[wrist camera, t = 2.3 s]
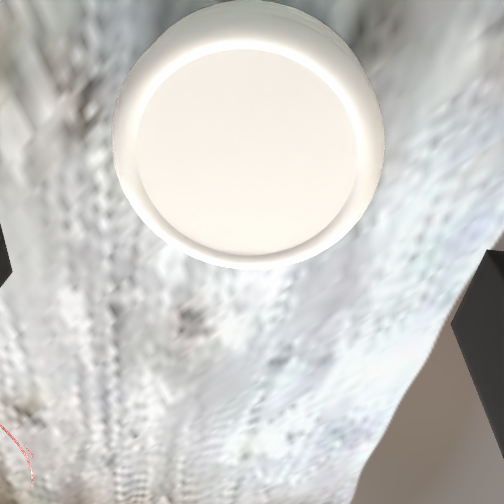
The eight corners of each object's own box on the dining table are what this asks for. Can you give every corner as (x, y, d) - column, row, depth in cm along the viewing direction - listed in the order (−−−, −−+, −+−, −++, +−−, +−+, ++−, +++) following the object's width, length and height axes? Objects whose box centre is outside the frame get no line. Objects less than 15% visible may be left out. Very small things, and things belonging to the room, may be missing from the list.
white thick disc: (400, 8, 17) (423, 29, 14) (348, 238, 23) (357, 285, 20) (121, -14, 17) (87, 2, 14) (142, 220, 23) (121, 264, 20)
